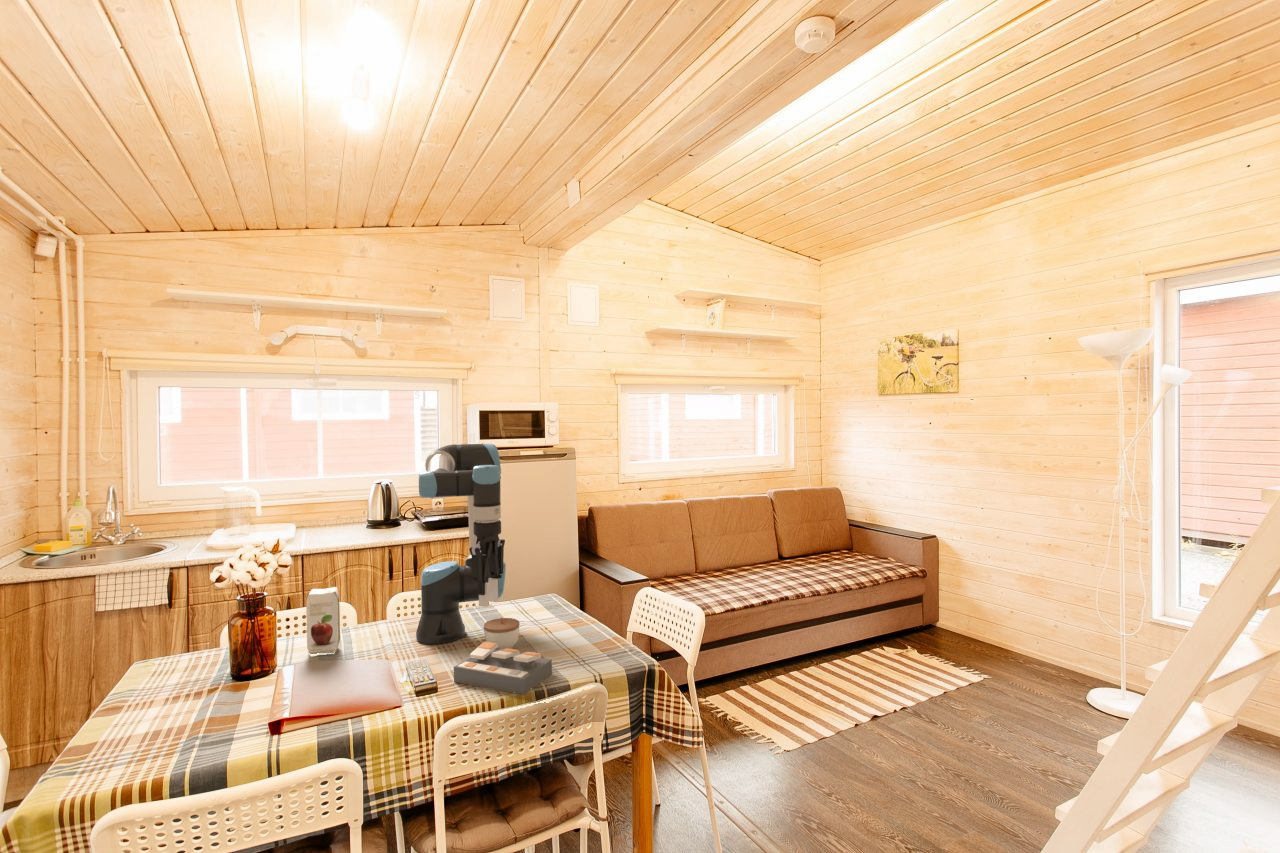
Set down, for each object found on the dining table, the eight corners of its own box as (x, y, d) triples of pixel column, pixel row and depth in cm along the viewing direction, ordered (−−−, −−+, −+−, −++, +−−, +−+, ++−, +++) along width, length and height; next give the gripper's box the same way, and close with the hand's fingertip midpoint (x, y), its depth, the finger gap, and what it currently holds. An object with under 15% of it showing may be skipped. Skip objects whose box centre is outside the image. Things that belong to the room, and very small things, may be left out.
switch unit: (453, 681, 169) (453, 662, 169) (485, 662, 182) (485, 644, 182) (523, 694, 160) (523, 674, 160) (551, 673, 173) (551, 655, 173)
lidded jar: (526, 647, 193) (526, 617, 193) (497, 658, 185) (496, 626, 185) (506, 639, 200) (506, 610, 200) (477, 649, 192) (476, 618, 192)
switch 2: (491, 656, 170) (491, 652, 170) (505, 652, 176) (506, 647, 176) (505, 658, 168) (505, 654, 168) (519, 654, 174) (519, 650, 174)
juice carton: (310, 649, 193) (309, 588, 193) (341, 646, 196) (340, 585, 196) (306, 658, 186) (304, 595, 186) (337, 655, 189) (336, 592, 188)
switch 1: (470, 657, 172) (469, 653, 172) (484, 644, 178) (484, 641, 178) (483, 659, 171) (482, 655, 170) (497, 646, 177) (497, 643, 177)
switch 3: (513, 660, 167) (513, 655, 167) (527, 655, 173) (527, 651, 173) (527, 662, 165) (527, 658, 165) (541, 657, 171) (541, 653, 172)
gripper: (479, 526, 167) (481, 614, 167) (515, 516, 182) (516, 596, 183) (456, 524, 170) (458, 610, 170) (494, 515, 185) (495, 594, 186)
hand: (488, 603), depth 176 cm, fingers open, 4 cm apart
